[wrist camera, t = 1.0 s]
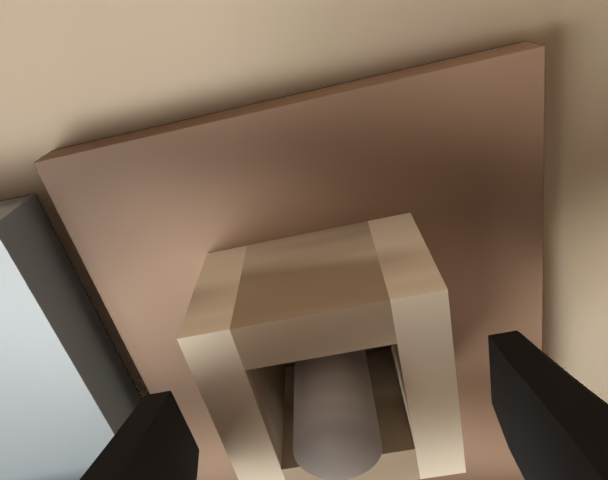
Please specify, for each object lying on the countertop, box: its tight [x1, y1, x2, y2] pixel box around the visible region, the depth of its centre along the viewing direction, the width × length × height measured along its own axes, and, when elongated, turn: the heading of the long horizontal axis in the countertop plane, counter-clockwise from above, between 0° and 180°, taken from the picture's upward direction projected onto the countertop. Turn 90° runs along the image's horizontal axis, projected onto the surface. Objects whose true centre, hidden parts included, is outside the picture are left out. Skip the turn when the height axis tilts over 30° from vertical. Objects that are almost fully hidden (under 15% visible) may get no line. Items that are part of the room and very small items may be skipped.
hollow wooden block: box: [177, 213, 466, 480], centre depth 12 cm, size 5×5×4 cm
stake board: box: [33, 41, 545, 480], centre depth 14 cm, size 18×12×6 cm, turn 13°
